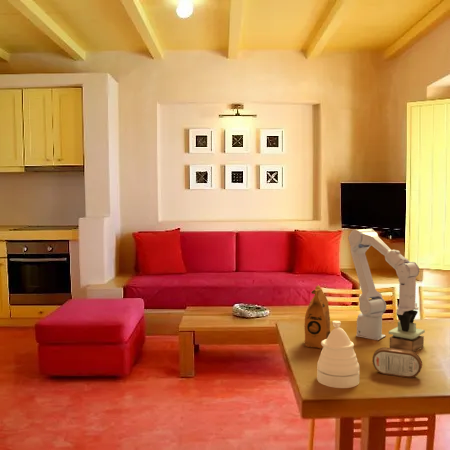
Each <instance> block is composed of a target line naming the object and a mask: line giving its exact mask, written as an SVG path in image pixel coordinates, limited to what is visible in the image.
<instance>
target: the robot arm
mask: <svg viewBox="0 0 450 450" xmlns="http://www.w3.org/2000/svg"><path fill="white" fill-rule="evenodd" d="M347 239H348V241H349V242H348V243H349V246H350V254H351V258H352V263H353V265H354V268H355V269H354V270H355V271H356V272H355V273H356V276H357V278H358V279H357V280H358V283H359V285H360V289H361V292H362V293H361V294H360V296H359V297H358V302H359V304H358V305H359V307H358V308H359V311H360V313H359V314H358V315H357V318H356V335H355V336H356V337H358V338H365V339H369V340H373V341H379V340H381V339H382V338H384V337H386V334H383V316H384V313H385V312H386V310H387V303H386V301H385V299H384V298H383V296H382V294H381V292H379V291H378V290H377V289H376V286H375V283H374V280H373V276H372V273H371V268H370V266H369V262H368V258H367V255H366V252H367V251H368V250H369V249H370V247H371V246H372V247H373V248H374V249H375V250H377V251H378V252H379V253H380V254H381V255H383V256H384V259H385V262H387V263H388V264H389V266H390V267H392V268H393V269H394V270H395V272H396V276H397V277H398V278H397V279H398V282H399V286H398V287H399V291H398V292H399V293H398V294H399V295H398V296H399V297H398V298H399V299H398V300H399V301H398V307H397V308H396V316H397V318H398V320H399V321H400V323H401V328H402V331H406V332H408V330H409V325H410V322H411V323H415V322H414V321H415V318H416V316H417V314H418V310H419V307H418V303H416V295H417V294H416V293H417V292H416V289H417V287H416V285H417V283H416V281H417V279H416V278H417V277H418V276H419V273H420V268H419V266H418V264H417V263H416V262H415V261H410V260H409V259H408V258H406V257H405V256H404V255H402V253H401V251H400V250H398V249H391V248H390V247H389V246H388V245H387V244H386V243H385V242H384V241H383V240H382V239H381V238H380V237H379V235H378V232H376V231H375V230H374V229H373V228H366V229H365V228H363V229H357V228H356V229H352V230H351V231H350V232H349V235H348V238H347Z"/></svg>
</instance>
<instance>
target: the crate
mask: <svg viewBox="0 0 450 450" xmlns="http://www.w3.org/2000/svg"><path fill="white" fill-rule="evenodd" d="M424 337H425V336H424V335H419V336H418V337H416V338H414V339H407V338H402V337H396V336H393V335H392V336H390V337H389V348H394V349H402V350H410V351H413V352H415V353H416V352H417V351H419V350H420V349H422V348H423V347H425V346H424V345H425V344H424V340H425V339H424Z"/></svg>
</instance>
